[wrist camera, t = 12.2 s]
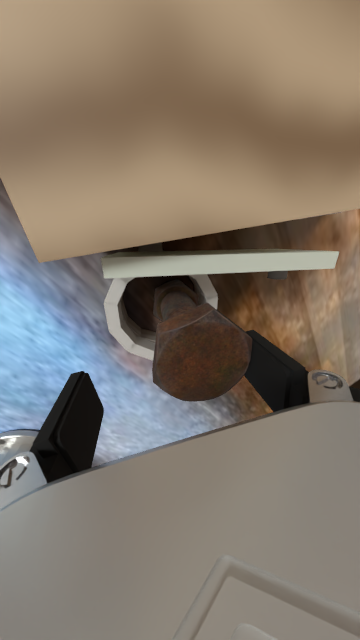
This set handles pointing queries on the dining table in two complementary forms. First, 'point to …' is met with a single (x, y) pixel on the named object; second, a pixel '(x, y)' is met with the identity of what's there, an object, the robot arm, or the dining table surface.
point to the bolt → (196, 346)
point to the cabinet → (175, 119)
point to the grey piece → (195, 276)
